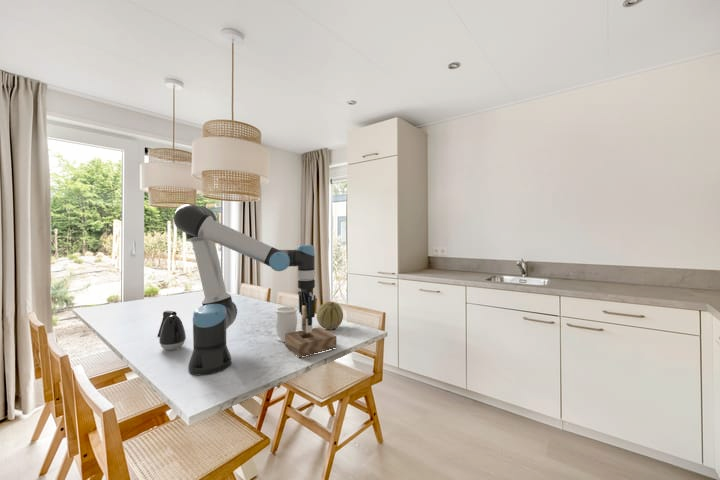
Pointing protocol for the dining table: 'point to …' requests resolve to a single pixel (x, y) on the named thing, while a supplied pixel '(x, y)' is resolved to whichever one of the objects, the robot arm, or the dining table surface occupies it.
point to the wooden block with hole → (310, 341)
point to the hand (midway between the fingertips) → (306, 330)
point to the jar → (285, 321)
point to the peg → (304, 318)
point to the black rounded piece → (165, 315)
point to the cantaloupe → (329, 315)
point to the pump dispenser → (172, 333)
